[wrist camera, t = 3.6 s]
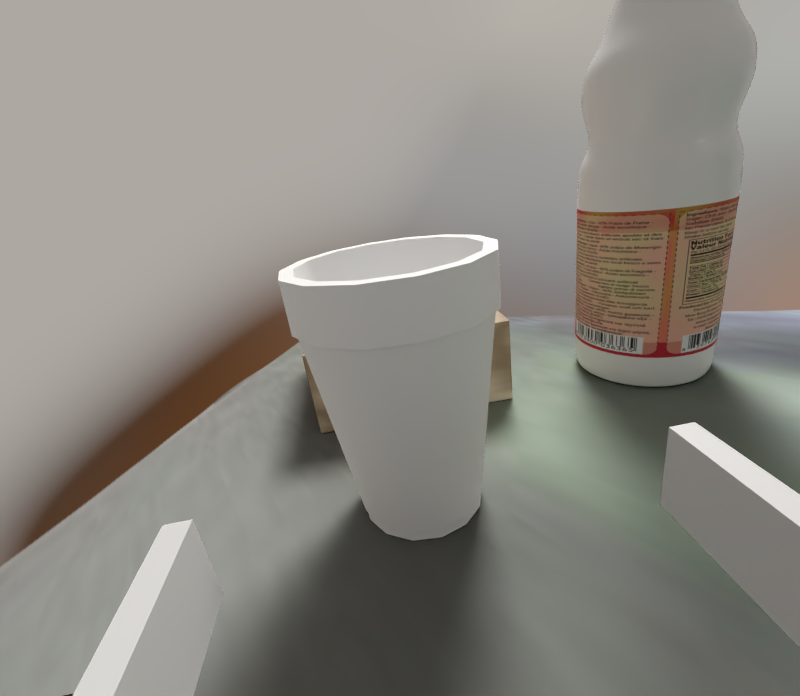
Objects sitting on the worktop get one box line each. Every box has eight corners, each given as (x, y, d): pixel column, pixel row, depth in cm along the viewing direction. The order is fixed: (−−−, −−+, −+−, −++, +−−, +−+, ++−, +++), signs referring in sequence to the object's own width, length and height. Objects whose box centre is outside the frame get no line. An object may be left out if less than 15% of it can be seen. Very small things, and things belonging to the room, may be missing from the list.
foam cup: (306, 497, 24) (243, 272, 19) (425, 426, 29) (399, 233, 24) (418, 609, 17) (363, 299, 12) (549, 489, 22) (547, 236, 17)
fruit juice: (576, 388, 31) (586, -124, 21) (572, 338, 39) (578, -47, 29) (732, 393, 28) (839, -213, 17) (693, 338, 36) (750, -98, 25)
